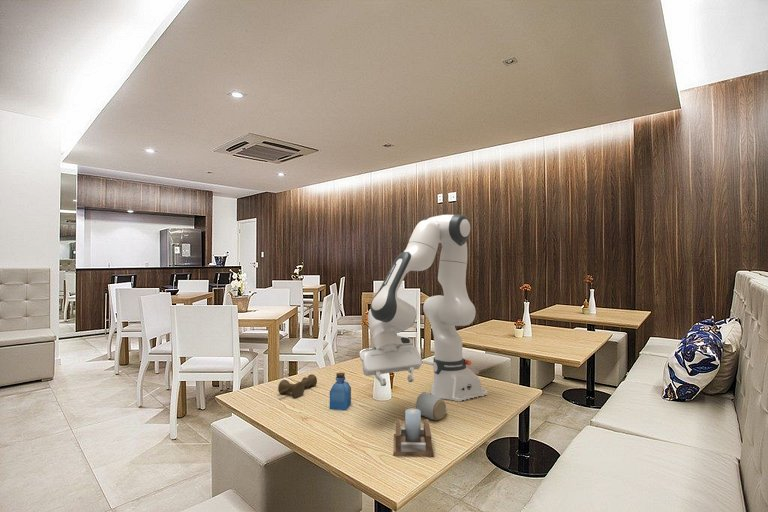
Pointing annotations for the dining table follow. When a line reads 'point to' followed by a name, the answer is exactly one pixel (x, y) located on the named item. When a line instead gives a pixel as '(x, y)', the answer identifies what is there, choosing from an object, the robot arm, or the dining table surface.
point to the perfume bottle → (340, 393)
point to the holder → (412, 447)
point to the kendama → (297, 386)
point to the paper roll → (413, 425)
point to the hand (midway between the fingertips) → (397, 383)
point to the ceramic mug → (431, 406)
